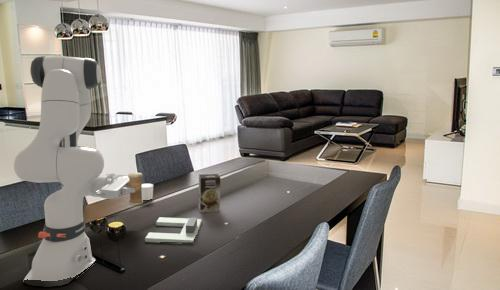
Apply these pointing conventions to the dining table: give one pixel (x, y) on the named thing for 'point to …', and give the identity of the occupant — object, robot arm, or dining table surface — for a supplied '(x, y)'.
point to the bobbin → (136, 182)
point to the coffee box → (209, 193)
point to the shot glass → (147, 191)
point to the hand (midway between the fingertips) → (137, 187)
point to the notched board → (186, 234)
